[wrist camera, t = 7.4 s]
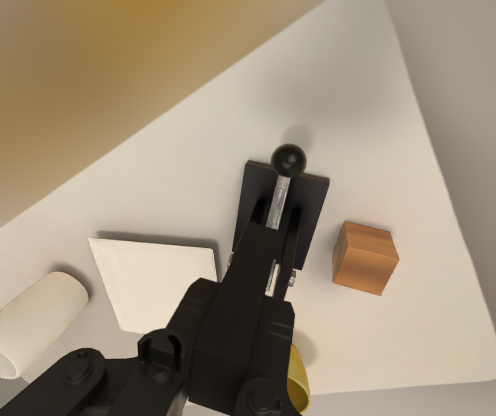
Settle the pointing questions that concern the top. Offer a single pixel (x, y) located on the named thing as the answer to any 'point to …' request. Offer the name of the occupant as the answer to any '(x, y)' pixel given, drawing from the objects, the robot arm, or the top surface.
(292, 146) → the lever
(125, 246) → the plate
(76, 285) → the cup
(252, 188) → the black lever base
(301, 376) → the yellow bowl
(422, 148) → the top surface
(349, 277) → the brown wooden cube
